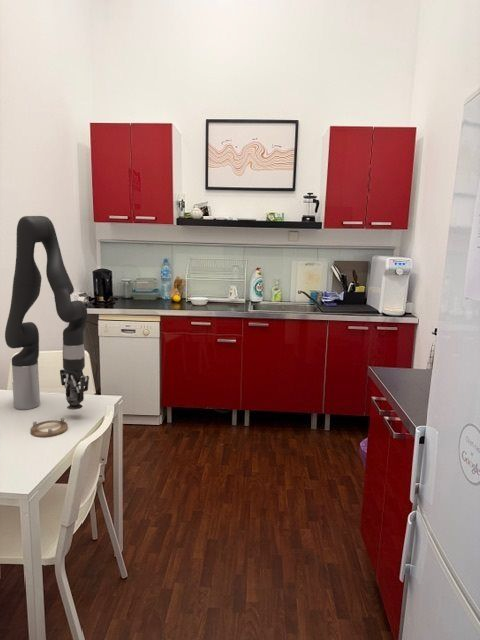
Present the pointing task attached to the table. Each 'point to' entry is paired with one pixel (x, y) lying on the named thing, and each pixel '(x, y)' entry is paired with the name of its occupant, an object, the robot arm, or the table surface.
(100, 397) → the table surface
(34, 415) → the table surface
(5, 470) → the table surface
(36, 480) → the table surface
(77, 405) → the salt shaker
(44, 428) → the pin holder
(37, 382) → the robot arm
